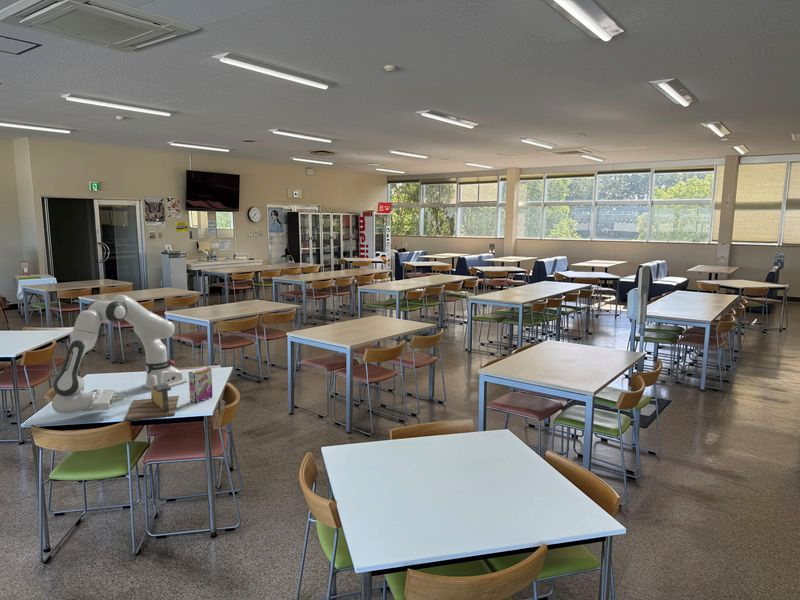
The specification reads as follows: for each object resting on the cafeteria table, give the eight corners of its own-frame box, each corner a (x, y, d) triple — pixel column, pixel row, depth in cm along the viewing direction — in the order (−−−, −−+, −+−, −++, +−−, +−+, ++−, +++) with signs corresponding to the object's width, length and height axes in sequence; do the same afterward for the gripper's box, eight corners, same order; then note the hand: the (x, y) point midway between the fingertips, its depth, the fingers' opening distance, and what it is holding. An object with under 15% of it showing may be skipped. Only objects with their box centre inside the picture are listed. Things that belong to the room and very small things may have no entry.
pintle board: (133, 402, 281) (131, 377, 278) (178, 397, 287) (176, 373, 285) (124, 421, 254) (121, 394, 252) (174, 415, 261) (172, 389, 259)
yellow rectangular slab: (150, 400, 279) (148, 375, 277) (157, 398, 281) (155, 374, 279) (162, 410, 264) (160, 384, 262) (169, 408, 266) (167, 383, 264)
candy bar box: (196, 403, 278) (194, 373, 275) (189, 401, 280) (187, 371, 278) (213, 397, 287) (211, 367, 285) (207, 395, 290) (205, 366, 287)
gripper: (85, 402, 250) (118, 398, 254) (95, 388, 269) (125, 385, 273) (87, 415, 251) (120, 411, 255) (96, 400, 270) (127, 397, 274)
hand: (123, 397), depth 264 cm, fingers closed
